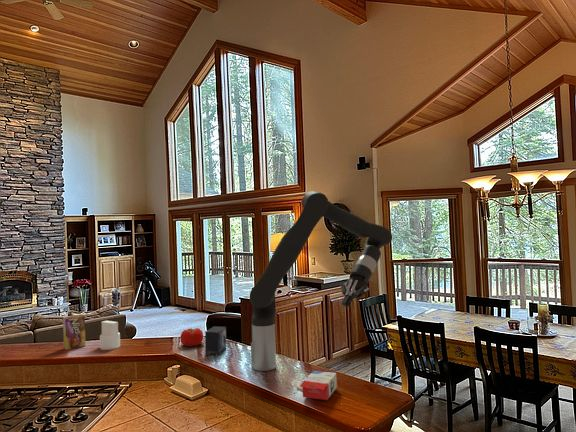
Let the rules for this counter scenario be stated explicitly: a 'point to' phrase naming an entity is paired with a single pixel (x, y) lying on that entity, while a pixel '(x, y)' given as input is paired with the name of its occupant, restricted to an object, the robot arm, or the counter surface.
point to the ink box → (319, 385)
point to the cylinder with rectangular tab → (109, 335)
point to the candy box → (74, 331)
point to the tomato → (191, 337)
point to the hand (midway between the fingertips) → (344, 305)
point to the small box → (215, 341)
